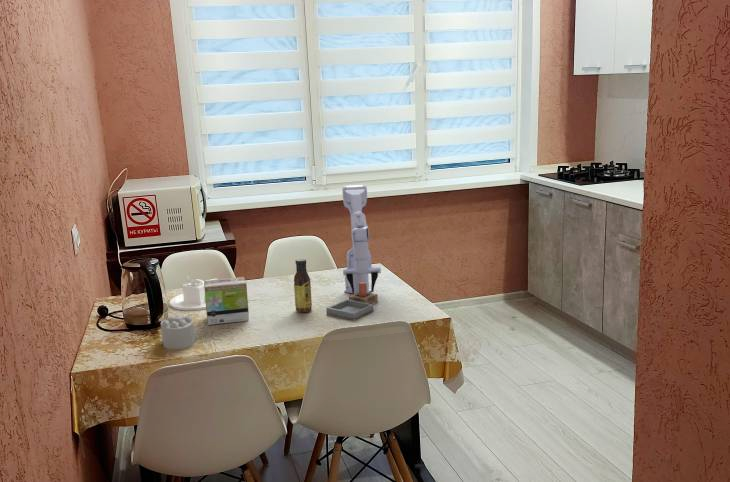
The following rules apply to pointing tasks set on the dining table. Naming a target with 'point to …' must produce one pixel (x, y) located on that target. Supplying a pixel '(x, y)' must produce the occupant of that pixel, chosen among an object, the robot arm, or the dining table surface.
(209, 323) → the tea box
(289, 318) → the dining table surface
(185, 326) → the white bowl of pebbles
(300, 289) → the sauce bottle
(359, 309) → the tray
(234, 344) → the dining table surface
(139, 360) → the dining table surface
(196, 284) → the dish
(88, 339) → the dining table surface
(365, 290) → the pin
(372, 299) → the pin block
